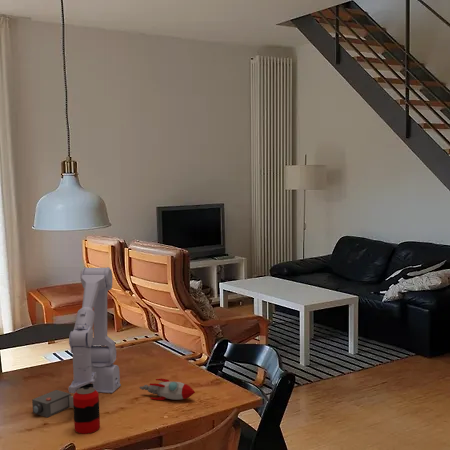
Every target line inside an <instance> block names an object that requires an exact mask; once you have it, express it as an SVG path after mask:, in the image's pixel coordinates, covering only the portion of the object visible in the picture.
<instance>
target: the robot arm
mask: <svg viewBox="0 0 450 450" xmlns="http://www.w3.org/2000/svg"><path fill="white" fill-rule="evenodd" d="M80 282H81V284H82V288H83V296H82V305H81V308H80V309H78V311H77V312H76V313H77V314H76V318H75V322H74V327H73V330H71V331H70V333H69V338H68V345H69V347H70V353H71V354H72V369H73V373H72V374H73V379H72V381H71V384H70V385H68V393H70V394H75V392H76V391H77V390H78V389H80V388H85V387H91V388H94V389H95V390H96V391H97V392H98V393H108V394H113V393H114V392H115V391H116V390H117V389H119V387H122V384H121V380H120V379H121V378H120V367H119V365H117V364H114V363H115V362H116V360H117V348H116V341H115V340H114V339H112V338H110V337H109V336H108V295H109V294H108V293H109V291H110V290H112V289H113V271H112V269H111V267H108V266H107V267H83V268H82V269H81V271H80Z"/></svg>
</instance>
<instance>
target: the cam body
mask: <svg viewBox="0 0 450 450" xmlns="http://www.w3.org/2000/svg"><path fill="white" fill-rule="evenodd" d="M69 396H72V393H69V392H66V391H62V390H58V389H55V390H52V391H50V392H48V393H45V394H42V395H40V396H37V397H34V398H33V399H32V400H31V401H32V413H33V414H35V415H38V416H41V417H43V418H50V417H52V416H54V415H56V414H58V413H61V412H63V411H65V410H68V409H70V408H69Z"/></svg>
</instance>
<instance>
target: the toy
mask: <svg viewBox="0 0 450 450" xmlns="http://www.w3.org/2000/svg"><path fill="white" fill-rule="evenodd" d="M155 381H158V383H149V385H148V384H144V385H143V386H139V389H140V390H142V391H143V390H145V391H147V392H148V393H150V394H153V395H157V396H158V397H151V396H150V399H152V400H154V401H164V400H166V399H169V400H175V401H177V400H178V401H179V400H186V399H188V398H190V397H191V396H193V395H195V393H196V392H195V390H194V389H193V388H192V387H191V386H190V385H189V384H187V383H184V382H180V381H170V380H169V379H166V378H156V379H155ZM159 381H160V382H159Z"/></svg>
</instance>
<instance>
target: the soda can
mask: <svg viewBox="0 0 450 450" xmlns="http://www.w3.org/2000/svg"><path fill="white" fill-rule="evenodd" d="M99 393H100V392H97V391H96V390H95V389H94V388H91V387H85V388H80V389H78V390H77V391H76V392H75V393H73V395H72V396H73V406H74V408H73V424H74V425H73V427H74V431H75V432H76V433H77V432H78V434H80V433H81V434H82V435H86V434H87V435H88V433H89V434H92V433H95V432H97V431H98V430H99V429H100V428H101V419H100V417H101V416H100V398H99V397H100V396H99Z"/></svg>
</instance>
